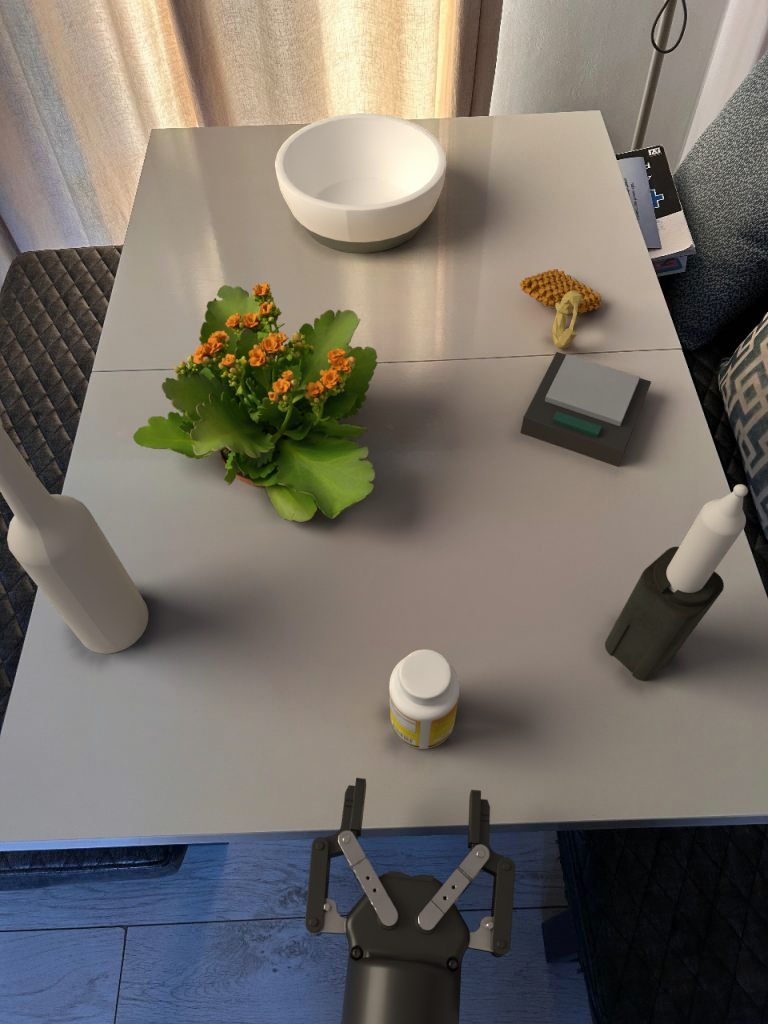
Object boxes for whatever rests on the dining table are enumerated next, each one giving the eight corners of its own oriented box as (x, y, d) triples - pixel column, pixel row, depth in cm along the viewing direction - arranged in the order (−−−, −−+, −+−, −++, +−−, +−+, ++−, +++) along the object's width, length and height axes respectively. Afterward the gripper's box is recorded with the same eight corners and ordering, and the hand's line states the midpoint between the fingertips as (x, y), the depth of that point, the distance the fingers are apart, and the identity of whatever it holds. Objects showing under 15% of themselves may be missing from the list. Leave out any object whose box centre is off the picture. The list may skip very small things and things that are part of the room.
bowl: (451, 174, 112) (455, 118, 105) (434, 273, 99) (437, 216, 92) (300, 163, 114) (294, 107, 107) (266, 259, 101) (256, 202, 95)
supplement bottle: (455, 691, 68) (464, 642, 59) (452, 753, 64) (461, 711, 56) (392, 685, 68) (392, 636, 59) (386, 748, 65) (385, 705, 56)
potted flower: (127, 540, 77) (66, 426, 62) (167, 370, 90) (124, 243, 76) (376, 540, 76) (372, 425, 62) (379, 369, 90) (376, 242, 75)
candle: (599, 645, 70) (685, 483, 49) (635, 612, 72) (733, 443, 51) (643, 686, 68) (753, 534, 47) (679, 651, 69) (800, 490, 49)
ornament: (525, 239, 95) (538, 297, 84) (604, 258, 96) (628, 318, 85) (507, 288, 100) (518, 349, 89) (583, 305, 101) (603, 368, 90)
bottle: (76, 599, 73) (-73, 399, 50) (145, 583, 74) (31, 379, 51) (79, 661, 70) (-80, 477, 46) (152, 643, 70) (32, 454, 47)
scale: (645, 397, 87) (653, 376, 84) (617, 466, 81) (625, 446, 78) (552, 367, 90) (557, 346, 87) (520, 432, 84) (524, 412, 81)
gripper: (519, 1067, 44) (520, 782, 53) (278, 1037, 45) (319, 762, 54) (505, 1062, 51) (507, 807, 60) (293, 1036, 52) (327, 789, 61)
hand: (417, 786), depth 57 cm, fingers open, 8 cm apart
